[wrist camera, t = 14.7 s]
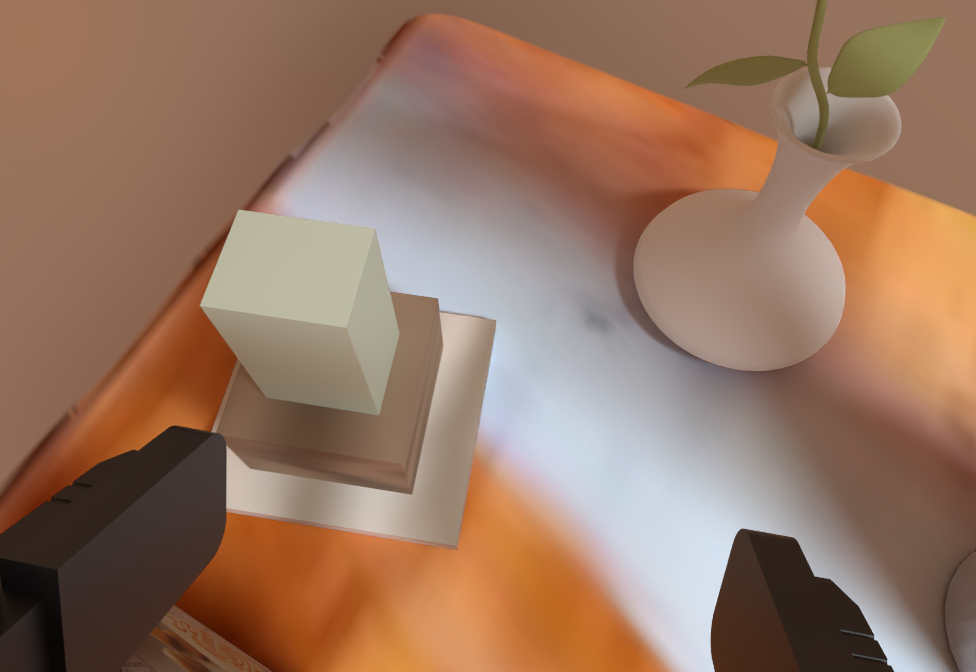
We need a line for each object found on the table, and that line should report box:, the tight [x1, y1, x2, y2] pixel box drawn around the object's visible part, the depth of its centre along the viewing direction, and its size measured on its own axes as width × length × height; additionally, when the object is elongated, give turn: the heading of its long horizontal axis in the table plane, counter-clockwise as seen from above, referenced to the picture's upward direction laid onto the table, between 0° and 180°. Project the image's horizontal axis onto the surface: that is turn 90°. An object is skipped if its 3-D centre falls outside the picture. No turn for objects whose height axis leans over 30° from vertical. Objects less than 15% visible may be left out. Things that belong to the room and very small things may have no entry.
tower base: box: [211, 292, 496, 550], centre depth 34 cm, size 13×12×6 cm
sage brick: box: [200, 210, 400, 415], centre depth 28 cm, size 5×4×8 cm
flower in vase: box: [633, 0, 945, 371], centre depth 29 cm, size 13×11×25 cm
